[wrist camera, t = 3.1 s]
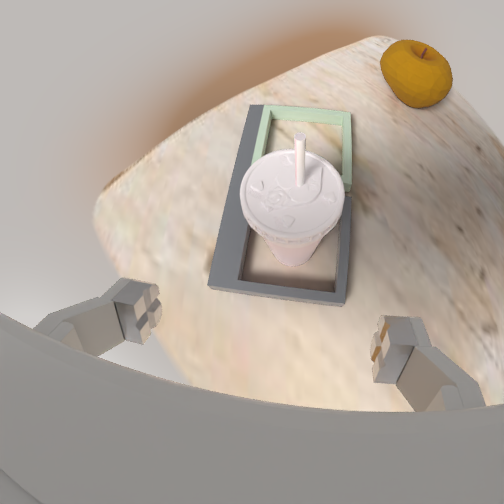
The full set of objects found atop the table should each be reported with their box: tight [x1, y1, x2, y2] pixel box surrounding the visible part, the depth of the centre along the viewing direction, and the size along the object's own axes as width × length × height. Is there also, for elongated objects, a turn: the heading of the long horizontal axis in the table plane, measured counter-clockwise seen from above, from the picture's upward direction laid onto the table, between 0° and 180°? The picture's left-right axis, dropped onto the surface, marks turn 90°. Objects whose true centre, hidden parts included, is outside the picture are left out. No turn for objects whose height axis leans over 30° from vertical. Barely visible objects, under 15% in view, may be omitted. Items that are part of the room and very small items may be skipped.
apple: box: [380, 40, 453, 108], centre depth 27 cm, size 9×9×9 cm
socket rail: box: [207, 105, 352, 307], centre depth 28 cm, size 11×21×2 cm, turn 170°
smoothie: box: [240, 132, 345, 266], centre depth 20 cm, size 6×6×14 cm
